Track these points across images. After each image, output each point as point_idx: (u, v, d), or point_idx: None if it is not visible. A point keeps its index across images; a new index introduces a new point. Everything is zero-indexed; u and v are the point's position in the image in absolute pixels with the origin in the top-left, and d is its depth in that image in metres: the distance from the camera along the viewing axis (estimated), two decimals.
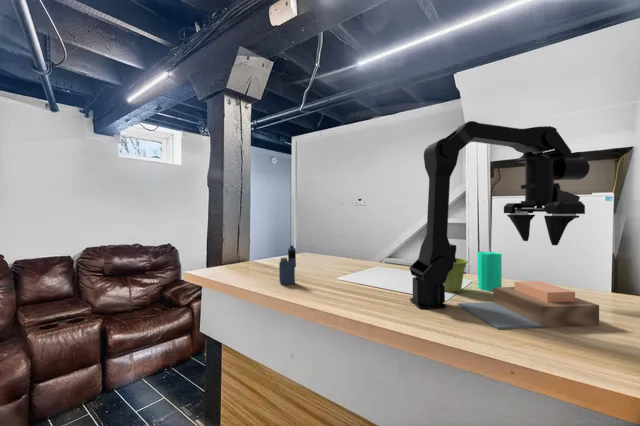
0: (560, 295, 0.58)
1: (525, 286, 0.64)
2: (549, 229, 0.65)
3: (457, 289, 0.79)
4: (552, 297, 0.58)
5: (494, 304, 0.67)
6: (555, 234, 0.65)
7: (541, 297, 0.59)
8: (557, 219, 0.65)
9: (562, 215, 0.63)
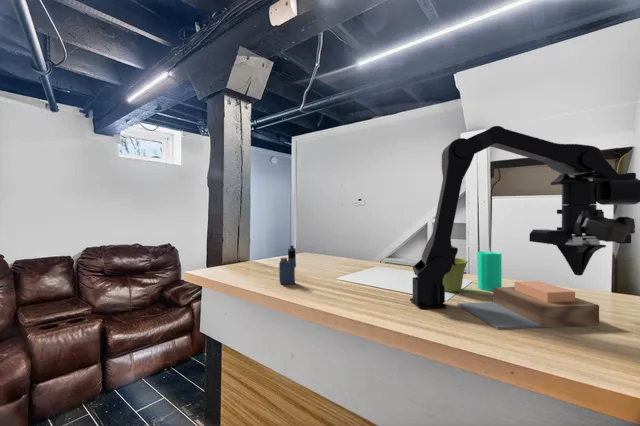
0: (560, 295, 0.58)
1: (525, 286, 0.64)
2: None
3: (457, 289, 0.79)
4: (552, 297, 0.58)
5: (494, 304, 0.67)
6: (570, 263, 0.64)
7: (541, 297, 0.59)
8: (570, 247, 0.63)
9: None
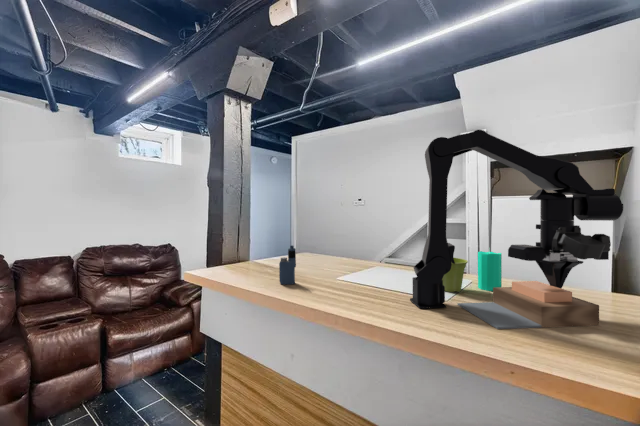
0: (557, 295, 0.58)
1: (522, 286, 0.64)
2: None
3: (457, 289, 0.79)
4: (549, 297, 0.58)
5: (494, 304, 0.67)
6: (549, 279, 0.63)
7: (538, 297, 0.59)
8: None
9: None
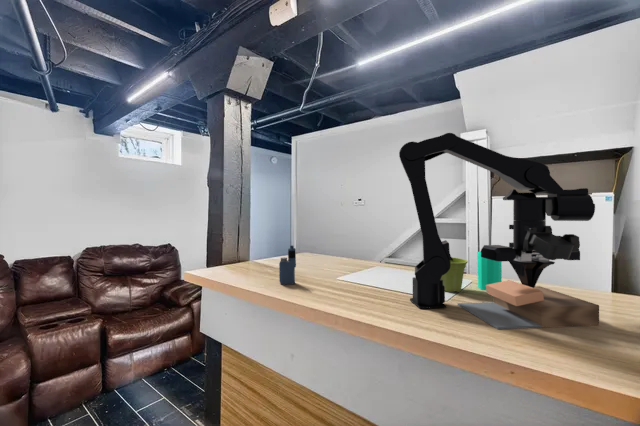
0: (528, 296, 0.58)
1: (495, 290, 0.63)
2: None
3: (457, 289, 0.79)
4: (520, 300, 0.57)
5: (494, 304, 0.67)
6: (521, 279, 0.63)
7: (510, 301, 0.59)
8: None
9: None
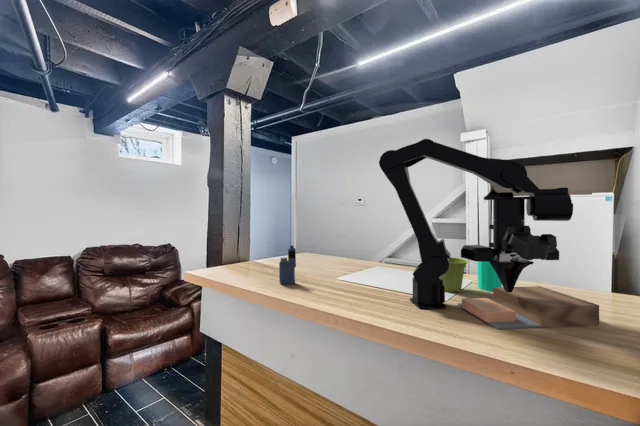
0: (502, 318, 0.57)
1: None
2: None
3: (457, 289, 0.79)
4: (510, 316, 0.57)
5: None
6: (501, 279, 0.63)
7: None
8: None
9: None
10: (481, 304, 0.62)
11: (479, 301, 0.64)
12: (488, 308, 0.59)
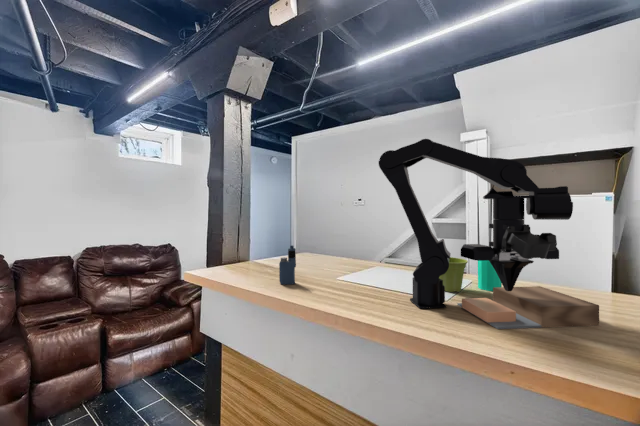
0: (502, 318, 0.57)
1: None
2: None
3: (457, 289, 0.79)
4: (510, 316, 0.57)
5: None
6: (501, 278, 0.63)
7: None
8: None
9: None
10: (481, 304, 0.62)
11: (479, 301, 0.64)
12: (488, 308, 0.59)
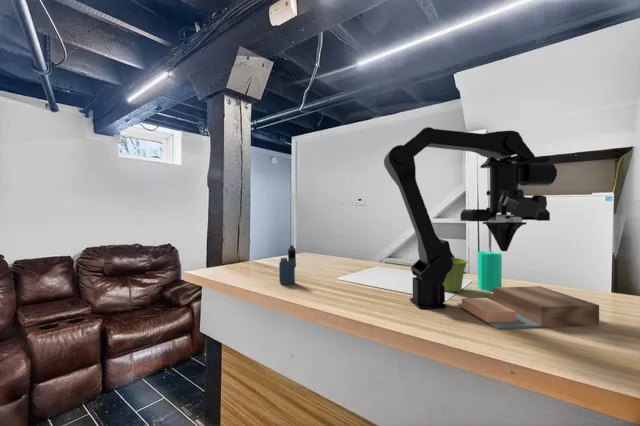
0: (502, 318, 0.57)
1: None
2: None
3: (457, 289, 0.79)
4: (510, 316, 0.57)
5: None
6: (497, 240, 0.69)
7: None
8: (497, 225, 0.68)
9: (486, 221, 0.69)
10: (481, 304, 0.62)
11: (479, 301, 0.64)
12: (488, 308, 0.59)
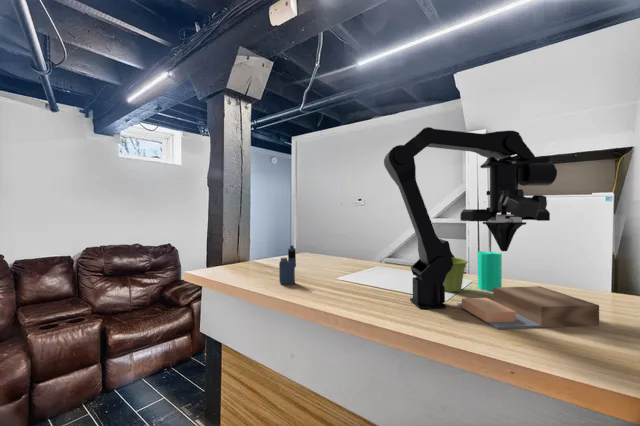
0: (502, 318, 0.57)
1: None
2: None
3: (457, 289, 0.79)
4: (510, 316, 0.57)
5: None
6: (497, 240, 0.69)
7: None
8: (497, 225, 0.68)
9: (486, 221, 0.69)
10: (481, 304, 0.62)
11: (479, 301, 0.64)
12: (488, 308, 0.59)
